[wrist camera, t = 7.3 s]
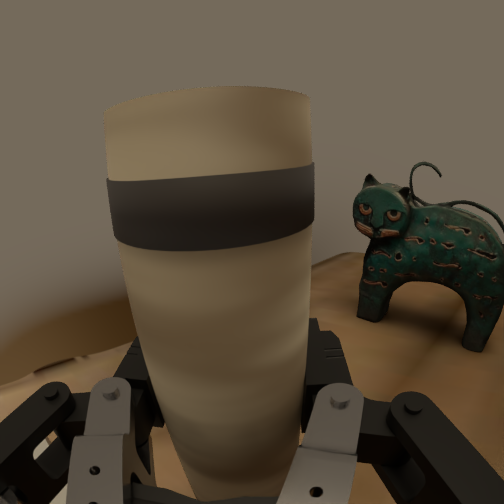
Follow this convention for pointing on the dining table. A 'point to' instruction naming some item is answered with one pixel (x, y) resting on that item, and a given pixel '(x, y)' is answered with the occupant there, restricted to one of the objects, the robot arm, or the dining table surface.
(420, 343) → the dining table surface
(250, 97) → the beech dowel
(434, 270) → the ceramic cat
